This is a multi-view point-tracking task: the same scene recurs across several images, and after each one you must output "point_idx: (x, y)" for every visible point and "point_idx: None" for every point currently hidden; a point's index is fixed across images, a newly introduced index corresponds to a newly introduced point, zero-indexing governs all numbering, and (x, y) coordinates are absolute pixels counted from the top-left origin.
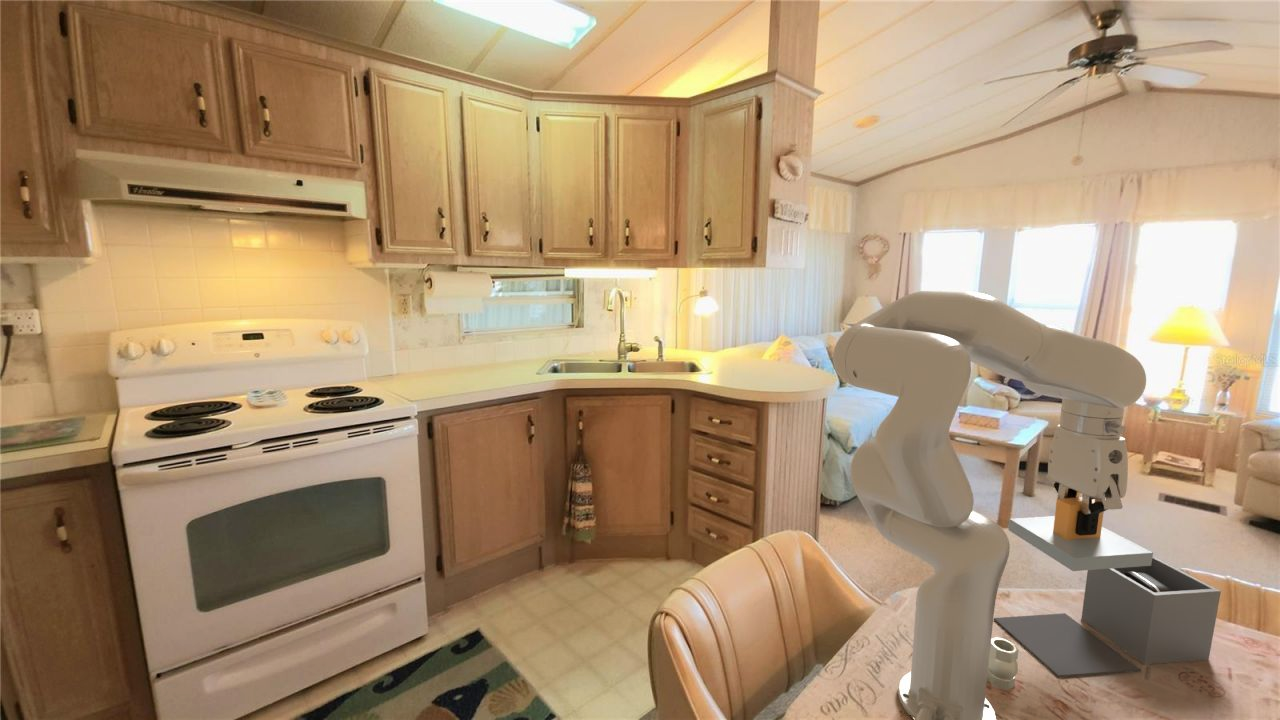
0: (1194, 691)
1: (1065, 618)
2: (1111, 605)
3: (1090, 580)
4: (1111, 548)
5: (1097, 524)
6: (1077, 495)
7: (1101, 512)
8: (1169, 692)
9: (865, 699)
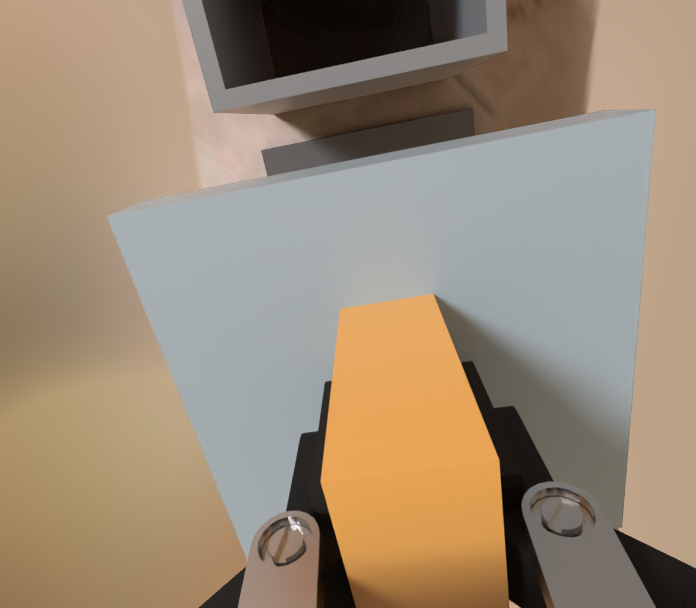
0: (539, 20)
1: (285, 165)
2: (344, 94)
3: (256, 110)
4: (567, 325)
5: (487, 396)
6: (324, 588)
7: (588, 509)
8: (537, 92)
9: None
